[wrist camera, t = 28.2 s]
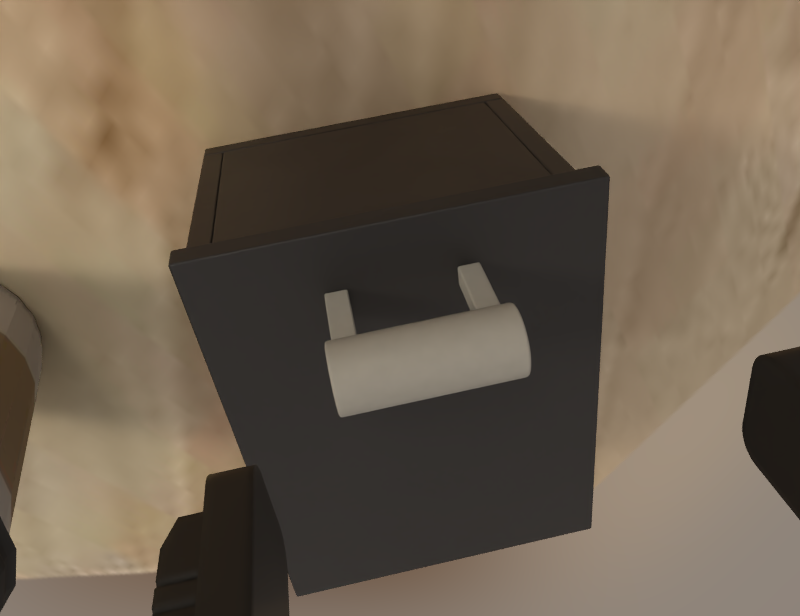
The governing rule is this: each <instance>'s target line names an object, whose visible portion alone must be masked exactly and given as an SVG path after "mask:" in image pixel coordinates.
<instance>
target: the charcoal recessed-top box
mask: <svg viewBox="0 0 800 616" xmlns="http://www.w3.org/2000/svg"><path fill="white" fill-rule="evenodd" d="M573 170H575V169H574V168H573V167H572V166H571V165H570V164H569V163H568V162H567V161H566V160H565V159H564V158H563V157H562V156H561V155H560V154H559V153H558V152H557V151H555V150H554V149H553V148H552V147H551V146H550V145H549V144H548V143H547V142H546V141H545V140H544V139H543V138H542V137H541V136H540V135H539V134H538V133H537V132H536V131H535V130H534V129H533V128H532V127H531V126H530V125H529V124H528V123H527V122H526V121H525V120H524V119H523V118H522V117H521V116H520V115H519V114H518V113H517V112H516V111H515V110H514V109H513V108H512V107H511V106H510V105H509V104H508V103H507V102H506V101H505V100H504V99H502V98H501V97H500V96H499V95H498V94H491V95H486V96H481V97H476V98H470V99H465V100H460V101H455V102H450V103H444V104H439V105H434V106H429V107H424V108H418V109H413V110H408V111H403V112H398V113H392V114H387V115H382V116H377V117H372V118H366V119H361V120H356V121H351V122H346V123H340V124H335V125H330V126H325V127H320V128H314V129H309V130H304V131H299V132H293V133H288V134H283V135H278V136H273V137H267V138H262V139H257V140H252V141H247V142H241V143H236V144H231V145H226V146H221V147H215V148H210V149H206V150H205V154H204V159H203V164H202V169H201V174H200V180H199V185H198V190H197V195H196V200H195V206H194V211H193V216H192V221H191V226H190V232H189V237H188V242H187V247H186V248H188V247H193V246H198V245H203V244H208V243H213V242H218V241H223V240H228V239H233V238H238V237H243V236H248V235H253V234H258V233H263V232H268V231H273V230H278V229H283V228H288V227H293V226H298V225H303V224H308V223H313V222H318V221H323V220H328V219H333V218H338V217H343V216H348V215H353V214H358V213H363V212H368V211H373V210H378V209H383V208H388V207H393V206H398V205H403V204H408V203H413V202H418V201H423V200H428V199H433V198H438V197H443V196H448V195H453V194H458V193H463V192H468V191H473V190H478V189H483V188H488V187H493V186H498V185H503V184H508V183H513V182H518V181H523V180H528V179H533V178H538V177H543V176H548V175H553V174H558V173H563V172H568V171H573Z"/></svg>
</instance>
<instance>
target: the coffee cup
mask: <svg viewBox="0 0 800 616" xmlns="http://www.w3.org/2000/svg"><path fill="white" fill-rule="evenodd" d="M41 370H42V345H41V335H40V332H39V329H38V327H37V324H36V321H35V318H34V316H33V315H32V314H31V312H30V311H29V310H28V309H27V307H26V306H25V305H24V304H23V303H22V301H21V300H20V299H19V298H18V297H17V296H16V295H14V294H13V293H11V292H10V291H8V290H7V289H6V288H4V287H3V286H1V285H0V612H1V610H2V608H3V606H4V605H5V603H6V601H7V599H8V597H9V596H10V594H11V592H12V591H13V589H14V587H15V584H16V547H15V545H14V543H13V541H12V539H11V537H10V535H9V532H10V527H11V522H12V517H13V512H14V507H15V502H16V497H17V492H18V487H19V481H20V476H21V471H22V466H23V461H24V456H25V451H26V446H27V441H28V436H29V431H30V426H31V421H32V416H33V410H34V405H35V400H36V395H37V390H38V385H39V380H40V375H41Z"/></svg>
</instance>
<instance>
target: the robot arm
mask: <svg viewBox="0 0 800 616" xmlns="http://www.w3.org/2000/svg"><path fill="white" fill-rule="evenodd" d="M742 432H743V438H744V442H745V446H746V448H747V451H748V453H749V455H750V457H751V459H752V460H753V462H754V463H755V465H756V466H757V467H758V468H759V470H760V471H761V472H762V473H763V475H764V476H765V477H766V478H767V479H768V481H769V482H770V483H771V485H772V486H773V487H774V488H775V490H776V491H777V492H778V493H779V495H780V496H781V497H782V498H783V500H784V501H785V502H786V503H787V505H788V506H789V507H790V508H791V510H792V511H793V512H794V513H795V515H796V516H797V517H798V518H799V520H800V347H796V348H791V349H787V350H783V351H778V352H773V353H769V354H765V355H760V356H758V357H757V358H756V359H755V361H754V363H753V367H752V373H751V378H750V384H749V390H748V396H747V401H746V407H745V413H744V419H743V426H742ZM156 585H157V587H156V588H155V590H154V598H153V605H152V611H153V616H289V596H288V570H287V558H286V551H285V545H284V540H283V536H282V532H281V528H280V525H279V522H278V520H277V517H276V514H275V511H274V508H273V505H272V503H271V500H270V497H269V494H268V491H267V488H266V486H265V483H264V480H263V477H262V474H261V472H260V469H259V467H258V466H257V465H251V466H247V467H242V468H237V469H233V470H228V471H224V472H219V473H215V474H210V475H208V476H207V479H206V484H205V496H204V508H203V512H200V513H196V514H191V515H187V516H182V517H178V519H177V520H176V522H175V524H174V526H173V528H172V529H171V531H170V533H169V535H168V536H167V538H166V540H165V542H164V543H163V545H162V547H161V549H160V555H159V562H158V569H157V576H156Z"/></svg>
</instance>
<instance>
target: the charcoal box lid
mask: <svg viewBox="0 0 800 616" xmlns="http://www.w3.org/2000/svg"><path fill="white" fill-rule="evenodd" d="M609 182H610V177H609V175H608V174H607V173H606V172H605V171H604V170H603V169H602V168H601V166H593V167H588V168H583V169H578V170H573V171H568V172H563V173H558V174H553V175H548V176H543V177H538V178H533V179H528V180H523V181H518V182H513V183H508V184H503V185H498V186H493V187H488V188H483V189H478V190H473V191H468V192H463V193H458V194H453V195H448V196H443V197H438V198H433V199H428V200H423V201H418V202H413V203H408V204H403V205H398V206H393V207H388V208H383V209H378V210H373V211H368V212H363V213H358V214H353V215H348V216H343V217H338V218H333V219H328V220H323V221H318V222H313V223H308V224H303V225H298V226H293V227H288V228H283V229H278V230H273V231H268V232H263V233H258V234H253V235H248V236H243V237H238V238H233V239H228V240H223V241H218V242H213V243H208V244H203V245H198V246H193V247H188V248H183V249H178V250H173V251H171V253H170V259H169V269H170V271H171V274H172V276H173V279H174V281H175V284H176V287H177V289H178V292H179V294H180V297H181V299H182V302H183V305H184V307H185V310H186V312H187V315H188V317H189V320H190V323H191V325H192V328H193V330H194V333H195V335H196V338H197V341H198V343H199V346H200V348H201V351H202V353H203V356H204V359H205V361H206V364H207V366H208V369H209V371H210V374H211V377H212V379H213V382H214V384H215V387H216V389H217V392H218V395H219V397H220V400H221V402H222V405H223V407H224V410H225V413H226V415H227V418H228V420H229V423H230V425H231V428H232V431H233V433H234V436H235V438H236V441H237V444H238V446H239V449H240V451H241V454H242V456H243V459H244V462H245V464H246V467H247V466H251V465H257V466H258V467H259V469H260V472H261V474H262V477H263V480H264V483H265V486H266V488H267V491H268V494H269V497H270V500H271V503H272V505H273V508H274V511H275V514H276V517H277V520H278V522H279V525H280V528H281V532H282V536H283V540H284V545H285V551H286V558H287V570H288V574H289V577H290V580H291V582H292V585H293V588H294V590H295V593H296V595H297V596H302V595H307V594H311V593H314V592H319V591H324V590H328V589H332V588H336V587H341V586H345V585H349V584H354V583H358V582H362V581H367V580H371V579H375V578H379V577H384V576H388V575H392V574H397V573H401V572H405V571H410V570H414V569H418V568H422V567H427V566H431V565H435V564H439V563H444V562H448V561H453V560H457V559H461V558H465V557H470V556H474V555H478V554H483V553H487V552H491V551H495V550H500V549H504V548H508V547H513V546H517V545H521V544H526V543H530V542H534V541H538V540H542V539H547V538H551V537H556V536H559V535H564V534H568V533H572V532H577V531H581V530H586V529H590V528H591V522H592V503H593V502H592V501H593V484H594V465H595V447H596V428H597V409H598V390H599V371H600V352H601V333H602V314H603V295H604V276H605V258H606V239H607V220H608V201H609Z"/></svg>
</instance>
